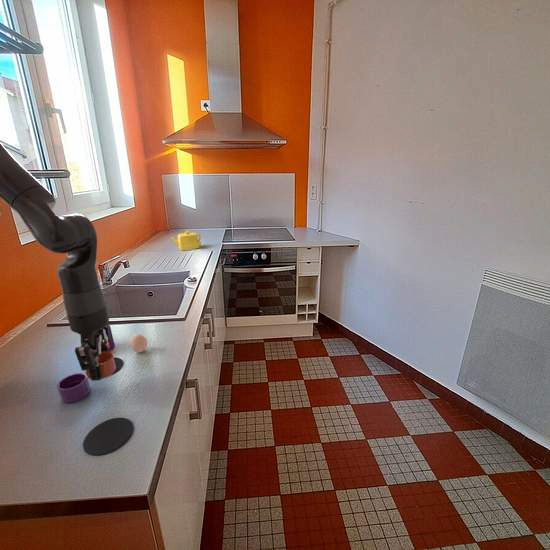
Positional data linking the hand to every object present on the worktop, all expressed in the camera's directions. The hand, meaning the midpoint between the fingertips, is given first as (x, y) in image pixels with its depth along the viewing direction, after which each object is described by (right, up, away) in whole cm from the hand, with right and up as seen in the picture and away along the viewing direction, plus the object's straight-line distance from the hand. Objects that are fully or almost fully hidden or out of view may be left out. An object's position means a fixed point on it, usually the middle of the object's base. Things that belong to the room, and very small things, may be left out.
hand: (101, 370), depth 72 cm
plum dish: (-6, -6, +1) cm, 9 cm away
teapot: (-20, +41, +139) cm, 147 cm away
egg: (+1, 0, +18) cm, 18 cm away
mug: (-12, +1, +21) cm, 24 cm away
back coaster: (-5, -3, +11) cm, 12 cm away
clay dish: (0, -1, 0) cm, 1 cm away
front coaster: (+8, -10, -11) cm, 17 cm away
